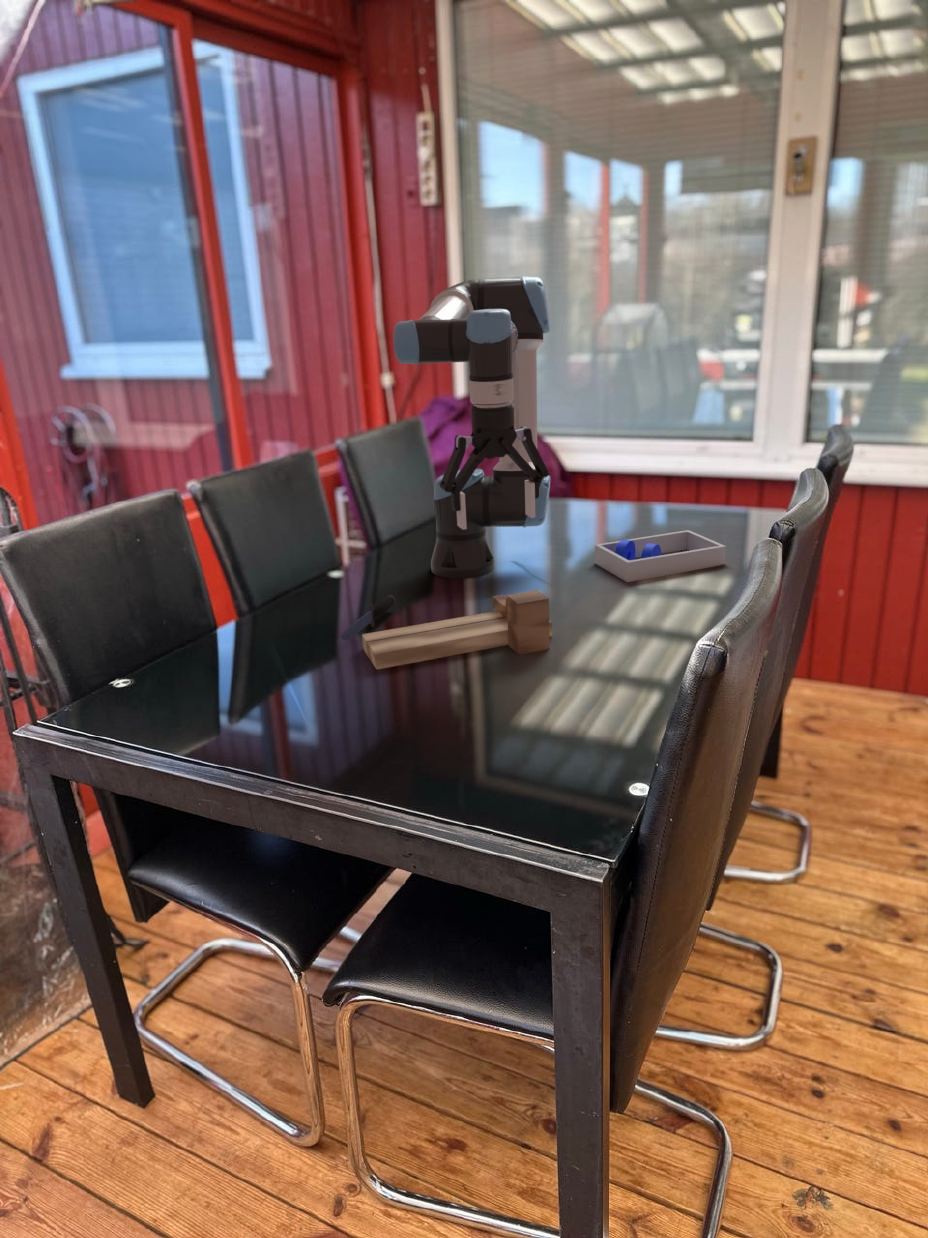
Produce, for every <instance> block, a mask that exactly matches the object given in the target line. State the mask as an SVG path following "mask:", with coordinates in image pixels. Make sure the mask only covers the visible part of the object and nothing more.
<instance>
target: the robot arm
mask: <svg viewBox="0 0 928 1238" xmlns="http://www.w3.org/2000/svg"><path fill="white" fill-rule="evenodd" d="M549 315H550V314H549V308H548V300H547V294H546V289H545V284H544V282H543V280H542V279H541V277H537V276H523V275H522V276H521V275H520V276H509V277H508V276H507V277H506V276H505V277H493V278H491V277H490V278H474V279H468V280H464V281H460V282H458V283H456V284H453V285H452V286H449V287H448V288H445V289H443V291H440V292H439V293H438V294H437V295H436V296H435V297H434V299H433V300H432V302H431V303H430V307H429V310H427V311H426V312H425V313H424V314H423V315H422V316H421V317H420V318H419V319H417V320H416V319H413V320H412V319H409V320H404V321H398V322H397V323H396V324H395V325H394V328H393V337H392V338H393V349H394V354H395V355H394V356H395V359H396V360H397V362H399V364H403V365H404V364H405V365H408V364H409V365H415V366H416V365H419V364H422V365H423V364H443V363H468V370H469V371H468V372H469V376H468V378H469V402H470V403H471V404H472V405H471V407H470V420H471V421H470V422H471V423H470V424H471V434H470V435H468V436H467V435H466V436H464V435H463V436H462V435H460V434H456V435H455V437H454V444H453V445H454V446H453V450H452V452H451V456H450V458H449V460H448V463H447V465H446V469H445V471H444V473H443V474H442V475H440V476H438V477H437V478H436V479H435V481H434V485H433V493H434V494H433V498H432V499H433V500H434V502H433V503H434V513H435V514H434V515H435V529H436V531H435V532H436V533H435V534H436V540H435V541H436V542H435V545H434V549H433V552H432V555H431V560H430V568H431V569H430V570H431V573H432V574H434V575H435V576H438V577H440V578H444V579H454V580H455V579H456V580H458V579H459V580H463V579H472V578H477V577H482V576H485V575H487V574H490V573H492V572H493V571H494V570H495V567H496V566H495V565H496V564H495V557H494V554H493V552H492V549H491V545H490V544H489V541H488V539H487V531H486V528H494V527H495V528H503V527H504V528H505V527H506V528H507V527H508V528H509V527H512V528H513V527H516V528H517V527H519V528H520V527H522V528H527V527H538V526H541V525H543V524H544V522H545V521H546V517H547V513H548V512H547V511H548V506H549V505H548V504H549V498H550V497H549V496H550V490H551V475H549V474H550V472H549V470H548V468H547V466H546V464H545V462H544V460H543V458H542V456H541V455H540V452H539V450H538V403H537V402H538V393H537V392H538V384H537V383H538V379H537V378H538V377H537V373H538V372H537V371H538V370H537V369H538V368H537V350H538V348H539V347H540V346H541V345H542V343H544V334H547V333H550V331H551V325H550V316H549ZM470 444H471V445H472V447H473V449H472V451H470V454H469V457H468V459H467V460H466V462H465V463H464V464H463V466H462V468H461V469H460V467H461V464H462V462H463V459H464V457H465V455H466V450H467V449H468V448H469V446H470ZM494 458H499V460H498V462H497V463H496V464H495V465H494V467H493V469H492V471H493V472H492V474H493V475H487V476H486V475H485V472H484V470H483V469H481V468H478V467H479V465H480V464H481V463H483V461H484V460H485V459H486V460H487V459H488V460H492V459H494Z"/></svg>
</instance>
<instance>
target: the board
mask: <svg viewBox="0 0 928 1238" xmlns="http://www.w3.org/2000/svg"><path fill="white" fill-rule="evenodd" d="M550 637H553V622H552V621H551V620H550V619H549V638H550ZM361 639H362V648H363V651H364V653H365V654H366V656H367V657H368V659H369V660H370V661H371V663H372V664H373V666H374V668H375V669H376V670H381V669H387V668H388V669H389V668H392V667H399V666H404V665H409V664H415V663H421V662H424V661H429V660H435V659H436V660H437V659H439V658H446V657H452V656H457V655H462V654H467V653H472V652H477V651H483V650H489V649H493V648H500V647H504V646H509V643H508V620H507V619H506V618H505V617H504V616H503V615H501V614H500V613H499V612H498V611H497V610H493V611H489V612H482V613H476V614H472V615H471V614H470V615H465V616H460V617H459V616H458V617H455V618H454V617H453V618H448V619H443V620H438V621H437V620H436V621H431V622H425V623H420V624H419V623H418V624H414V625H408V626H403V627H397V628H390V629H385V630H380V631H379V630H378V631H375V632H374V631H373V632H368V633H362V634H361Z"/></svg>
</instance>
